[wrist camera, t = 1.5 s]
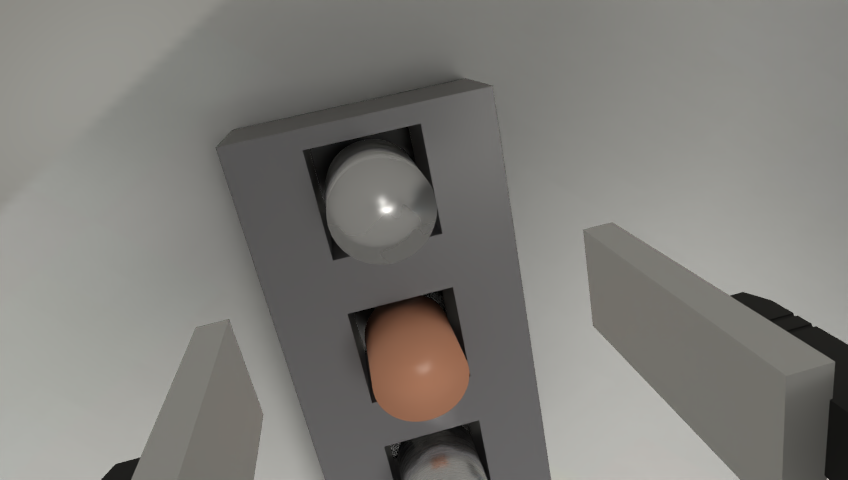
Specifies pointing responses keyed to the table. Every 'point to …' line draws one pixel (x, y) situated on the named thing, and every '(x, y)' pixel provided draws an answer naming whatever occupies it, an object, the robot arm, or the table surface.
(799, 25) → the table surface
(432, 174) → the button console
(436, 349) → the terracotta button
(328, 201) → the steel button near
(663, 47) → the table surface
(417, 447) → the steel button far
